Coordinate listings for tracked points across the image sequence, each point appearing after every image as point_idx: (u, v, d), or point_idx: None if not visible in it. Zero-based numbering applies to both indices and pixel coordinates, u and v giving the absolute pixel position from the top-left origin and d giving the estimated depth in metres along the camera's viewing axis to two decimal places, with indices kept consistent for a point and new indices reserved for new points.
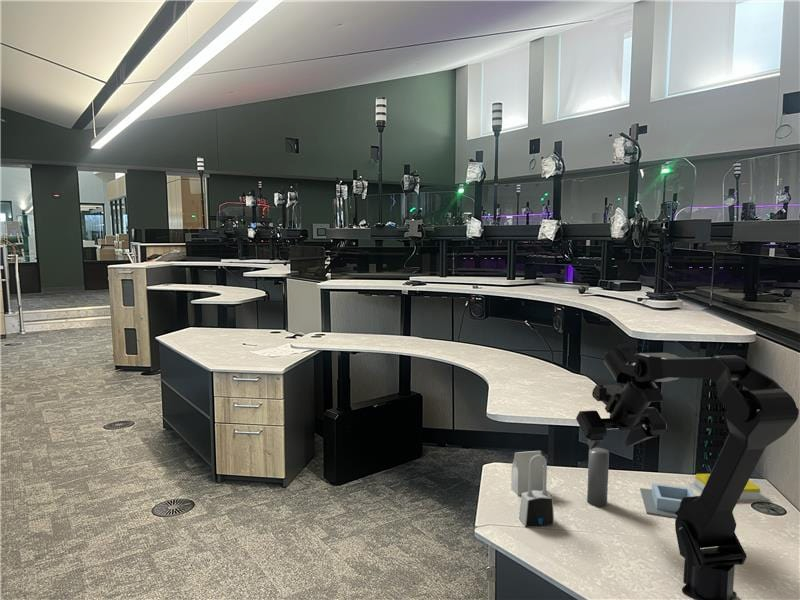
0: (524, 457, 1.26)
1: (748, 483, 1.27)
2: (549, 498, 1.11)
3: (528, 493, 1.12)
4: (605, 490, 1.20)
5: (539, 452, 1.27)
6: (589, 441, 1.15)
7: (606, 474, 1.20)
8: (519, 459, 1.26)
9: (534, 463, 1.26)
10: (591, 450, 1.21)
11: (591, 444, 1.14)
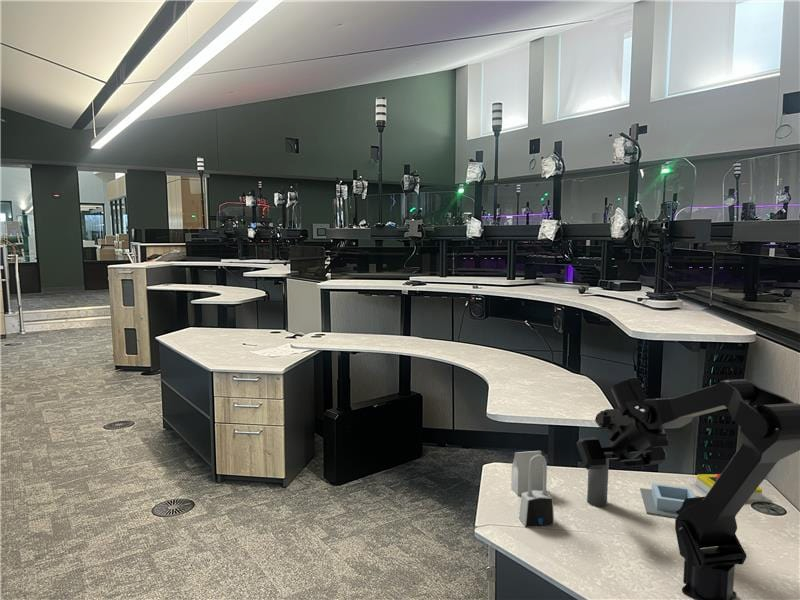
0: (524, 457, 1.26)
1: None
2: (549, 498, 1.11)
3: (528, 493, 1.12)
4: (605, 490, 1.20)
5: (539, 452, 1.27)
6: None
7: (606, 474, 1.20)
8: (519, 459, 1.26)
9: (534, 463, 1.26)
10: None
11: None
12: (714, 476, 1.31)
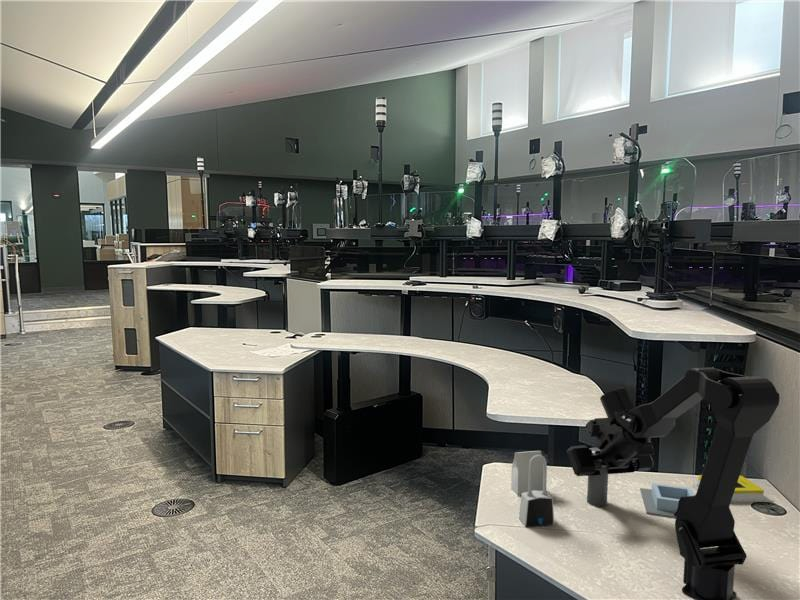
0: (524, 457, 1.26)
1: (751, 484, 1.26)
2: (549, 498, 1.11)
3: (528, 493, 1.12)
4: (605, 490, 1.20)
5: (539, 452, 1.27)
6: None
7: (606, 474, 1.20)
8: (519, 459, 1.26)
9: (534, 463, 1.26)
10: None
11: None
12: None
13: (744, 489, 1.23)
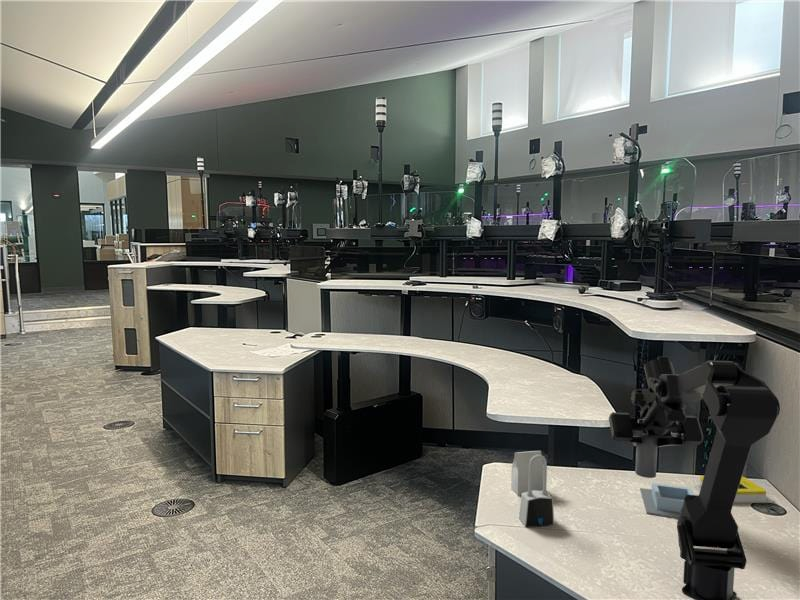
0: (524, 457, 1.26)
1: (754, 485, 1.25)
2: (549, 498, 1.11)
3: (528, 493, 1.12)
4: (652, 461, 1.19)
5: (539, 452, 1.27)
6: None
7: (653, 445, 1.19)
8: (519, 459, 1.26)
9: (534, 463, 1.26)
10: None
11: None
12: None
13: (746, 490, 1.23)
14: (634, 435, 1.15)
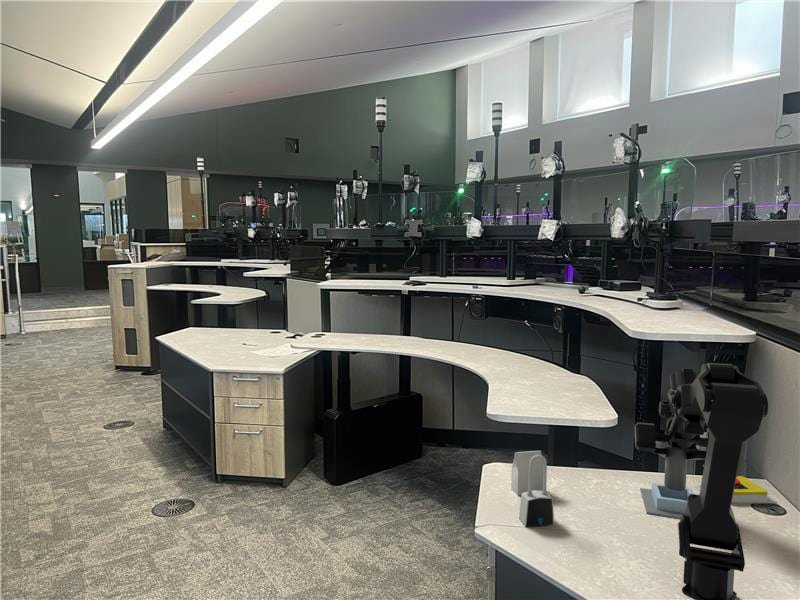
0: (524, 457, 1.26)
1: (755, 486, 1.25)
2: (549, 498, 1.11)
3: (528, 493, 1.12)
4: (680, 474, 1.18)
5: (539, 452, 1.27)
6: None
7: (682, 458, 1.18)
8: (519, 459, 1.26)
9: (534, 463, 1.26)
10: None
11: None
12: None
13: (747, 490, 1.23)
14: (658, 446, 1.15)
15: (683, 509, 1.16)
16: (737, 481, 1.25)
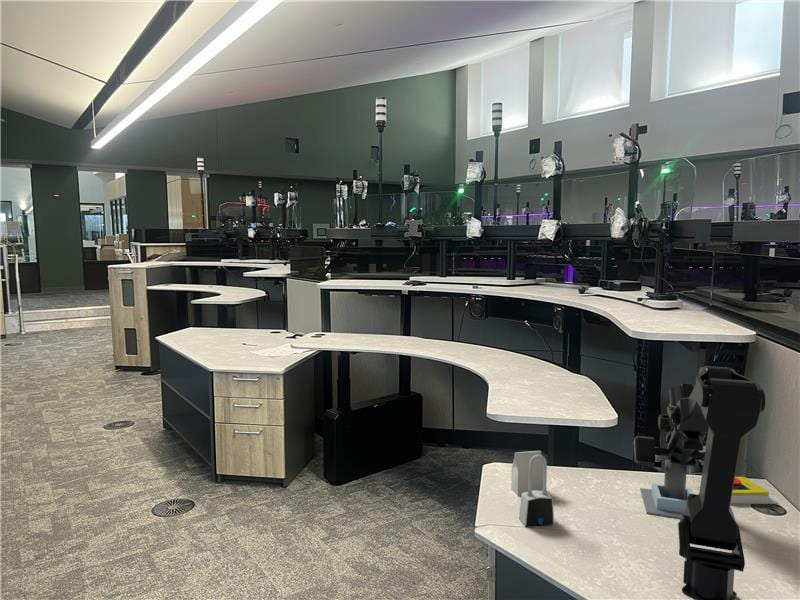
0: (524, 457, 1.26)
1: (756, 486, 1.25)
2: (549, 498, 1.11)
3: (528, 493, 1.12)
4: (680, 492, 1.18)
5: (539, 452, 1.27)
6: None
7: (681, 475, 1.18)
8: (519, 459, 1.26)
9: (534, 463, 1.26)
10: None
11: None
12: None
13: (749, 491, 1.22)
14: None
15: (683, 509, 1.16)
16: (738, 481, 1.25)
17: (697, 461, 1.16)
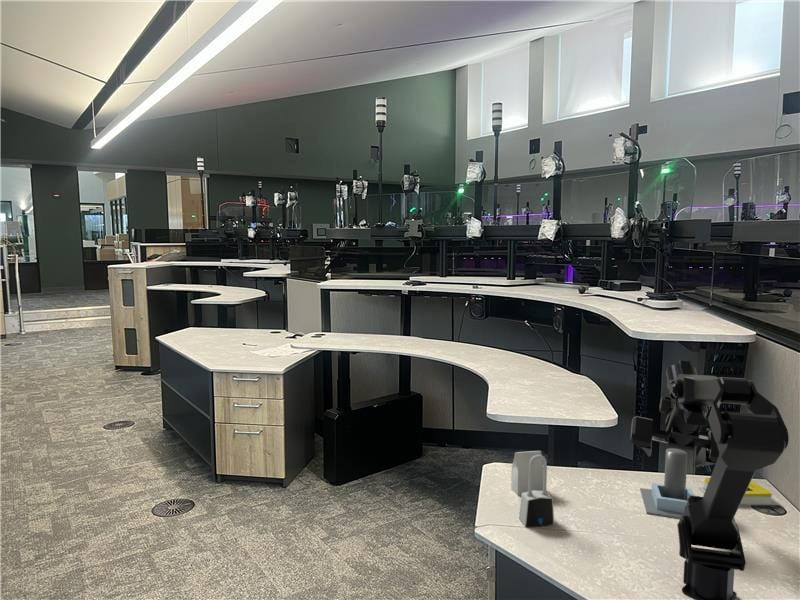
0: (524, 457, 1.26)
1: (759, 487, 1.24)
2: (549, 498, 1.11)
3: (528, 493, 1.12)
4: (680, 492, 1.18)
5: (539, 452, 1.27)
6: None
7: (681, 476, 1.18)
8: (519, 459, 1.26)
9: (534, 463, 1.26)
10: (668, 449, 1.21)
11: None
12: None
13: (751, 492, 1.22)
14: None
15: (683, 509, 1.16)
16: None
17: (704, 450, 1.09)
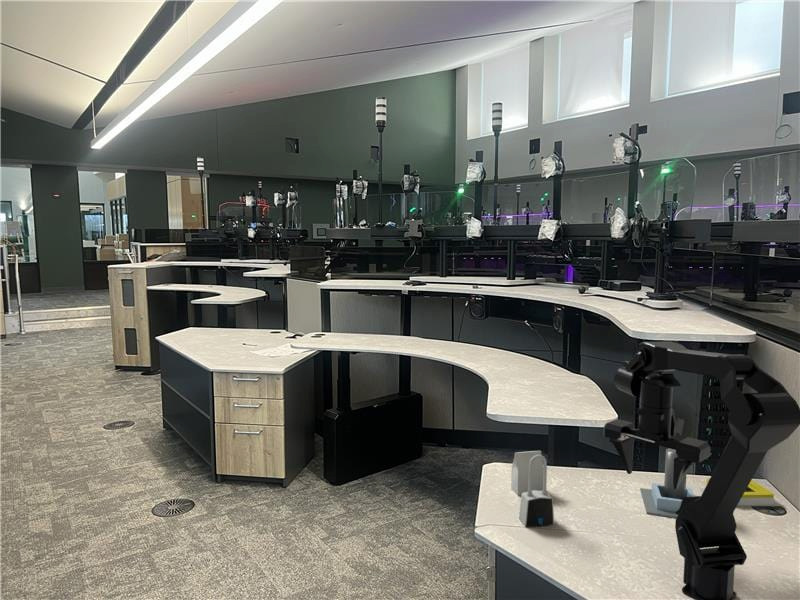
0: (524, 457, 1.26)
1: (761, 488, 1.24)
2: (549, 498, 1.11)
3: (528, 493, 1.12)
4: (680, 492, 1.18)
5: (539, 452, 1.27)
6: None
7: None
8: (519, 459, 1.26)
9: (534, 463, 1.26)
10: (668, 449, 1.21)
11: None
12: None
13: (753, 493, 1.21)
14: None
15: None
16: None
17: None
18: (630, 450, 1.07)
